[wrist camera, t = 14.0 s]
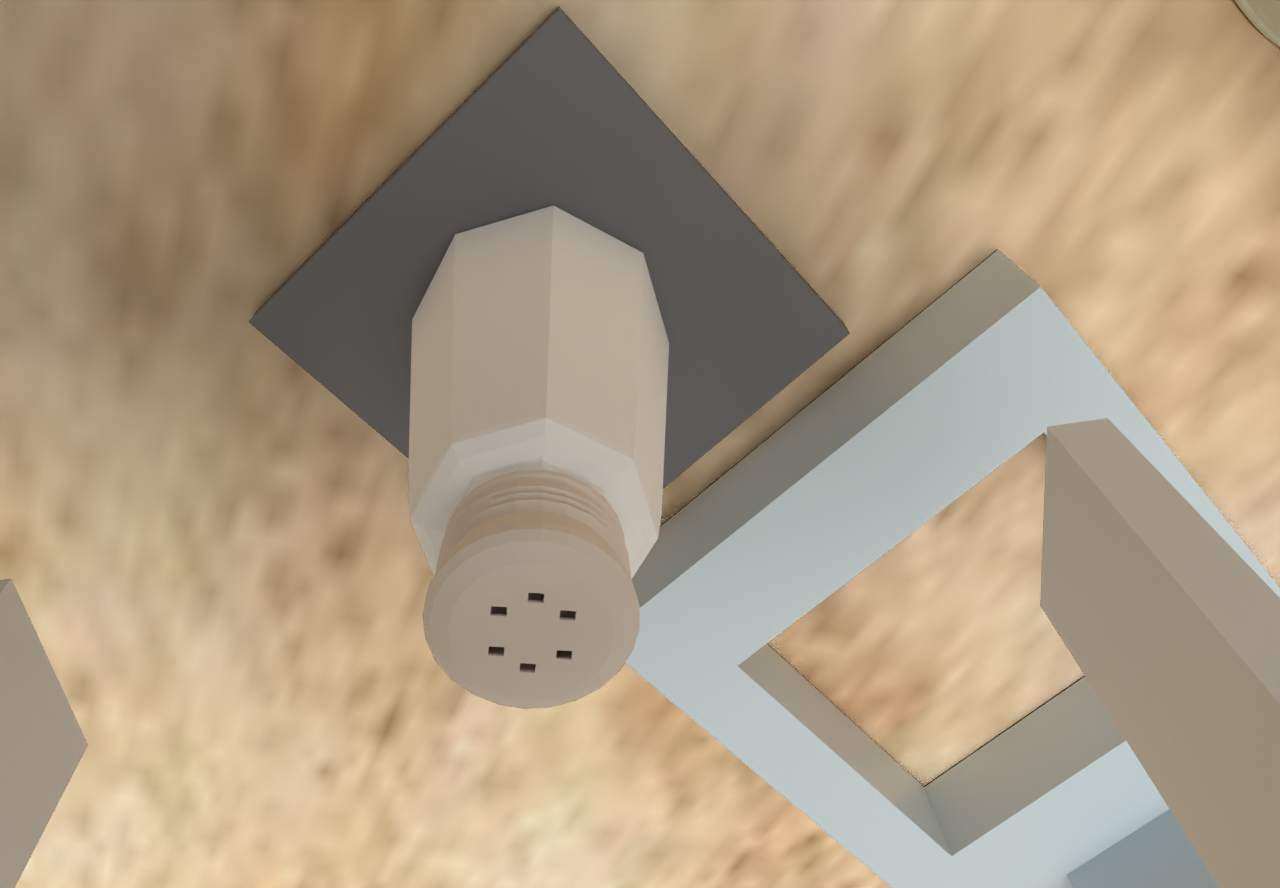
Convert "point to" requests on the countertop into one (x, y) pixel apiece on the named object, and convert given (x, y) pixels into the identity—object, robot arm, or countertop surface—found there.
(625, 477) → the pepper shaker
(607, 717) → the countertop surface
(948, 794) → the frame
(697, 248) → the mat
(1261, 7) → the can
